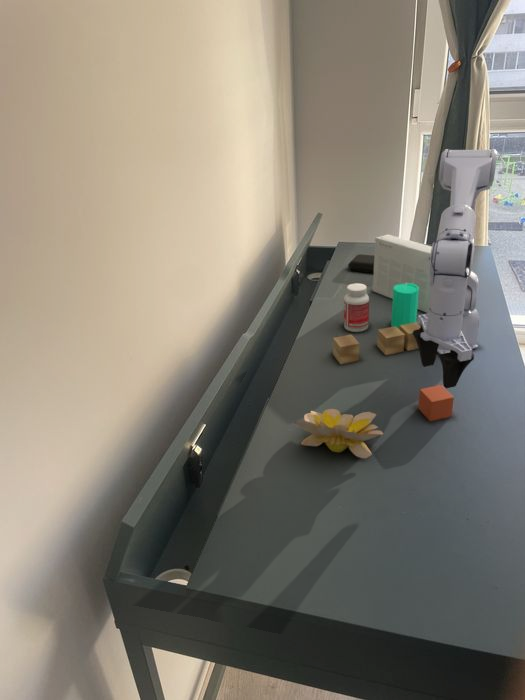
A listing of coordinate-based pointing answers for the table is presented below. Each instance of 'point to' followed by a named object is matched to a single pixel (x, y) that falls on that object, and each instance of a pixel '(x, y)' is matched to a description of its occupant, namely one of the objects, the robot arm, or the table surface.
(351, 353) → the block
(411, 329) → the block
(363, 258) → the carrying case
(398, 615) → the table surface
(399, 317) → the candle
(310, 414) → the decorative flower
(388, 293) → the skincare box
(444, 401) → the orange block
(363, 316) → the pill bottle
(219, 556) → the table surface
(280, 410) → the table surface
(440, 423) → the table surface
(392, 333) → the block
